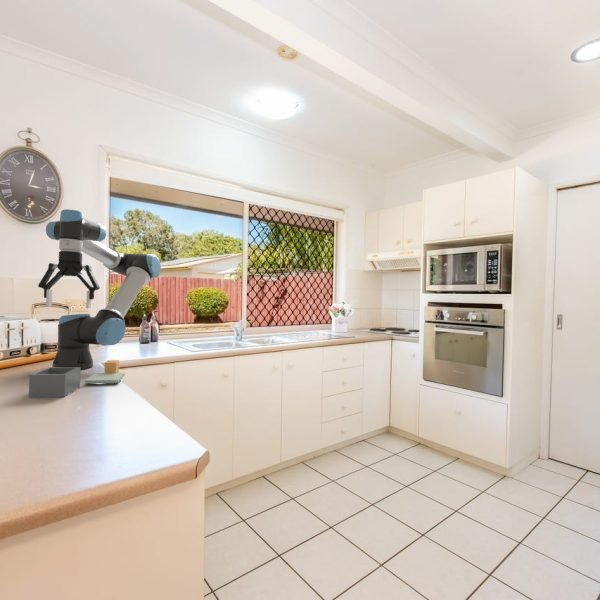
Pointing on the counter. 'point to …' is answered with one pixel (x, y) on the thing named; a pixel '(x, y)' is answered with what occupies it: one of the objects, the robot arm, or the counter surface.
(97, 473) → the counter surface
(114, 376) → the lid
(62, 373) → the tub
